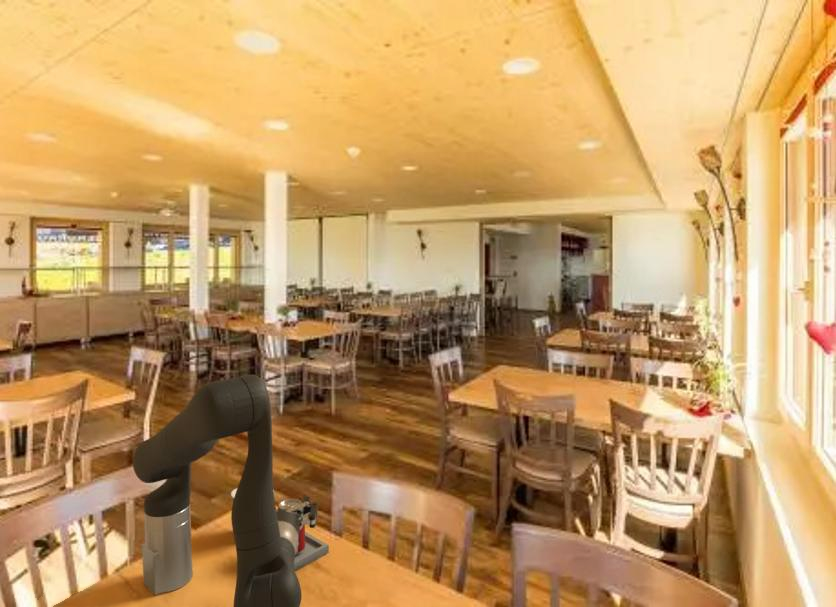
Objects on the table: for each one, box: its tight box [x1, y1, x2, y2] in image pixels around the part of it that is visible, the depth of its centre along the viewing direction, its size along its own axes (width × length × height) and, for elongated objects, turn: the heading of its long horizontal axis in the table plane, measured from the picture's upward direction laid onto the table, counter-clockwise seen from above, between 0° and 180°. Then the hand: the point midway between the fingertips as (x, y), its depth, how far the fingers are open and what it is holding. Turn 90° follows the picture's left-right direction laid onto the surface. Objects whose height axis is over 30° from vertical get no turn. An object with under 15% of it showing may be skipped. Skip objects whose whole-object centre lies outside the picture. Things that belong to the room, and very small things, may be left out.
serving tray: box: [294, 531, 330, 572], centre depth 127 cm, size 13×13×2 cm
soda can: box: [277, 498, 306, 555], centre depth 126 cm, size 7×7×12 cm
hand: (285, 499), depth 115 cm, fingers open, 8 cm apart
